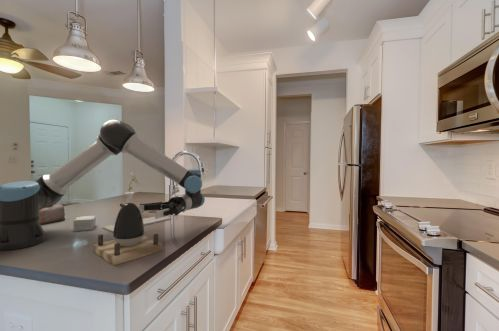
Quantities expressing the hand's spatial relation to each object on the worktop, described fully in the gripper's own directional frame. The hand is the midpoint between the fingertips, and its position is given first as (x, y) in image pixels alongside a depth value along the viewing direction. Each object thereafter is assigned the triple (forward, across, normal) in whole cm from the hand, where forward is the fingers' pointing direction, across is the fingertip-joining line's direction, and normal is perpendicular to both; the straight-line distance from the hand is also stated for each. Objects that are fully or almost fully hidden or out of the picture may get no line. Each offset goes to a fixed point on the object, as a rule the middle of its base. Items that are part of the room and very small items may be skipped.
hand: (142, 213), depth 95 cm
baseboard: (-22, +28, -14) cm, 38 cm away
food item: (-2, +68, -13) cm, 70 cm away
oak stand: (+6, 0, -13) cm, 14 cm away
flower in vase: (-30, +43, -13) cm, 54 cm away
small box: (-4, +42, -13) cm, 44 cm away
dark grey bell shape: (+6, 0, -10) cm, 12 cm away
